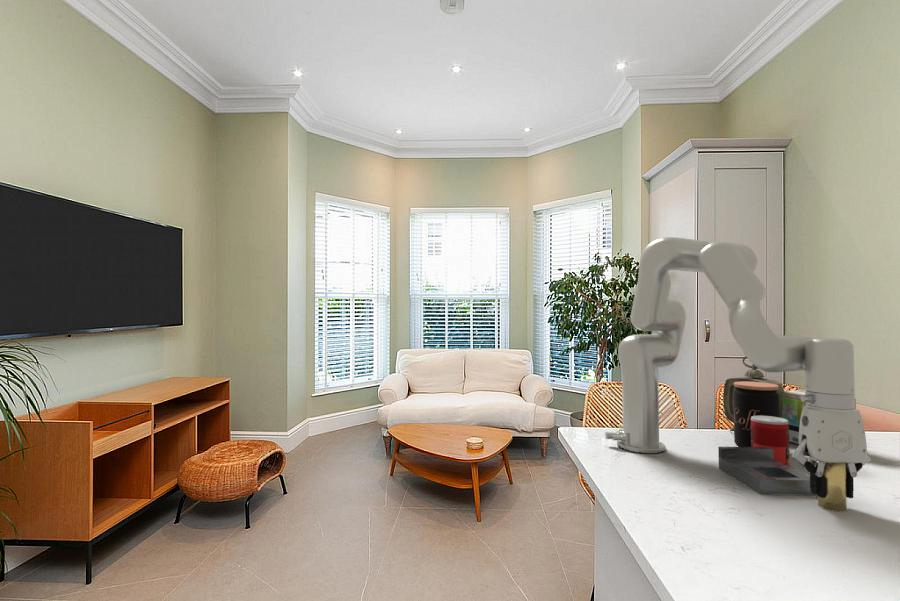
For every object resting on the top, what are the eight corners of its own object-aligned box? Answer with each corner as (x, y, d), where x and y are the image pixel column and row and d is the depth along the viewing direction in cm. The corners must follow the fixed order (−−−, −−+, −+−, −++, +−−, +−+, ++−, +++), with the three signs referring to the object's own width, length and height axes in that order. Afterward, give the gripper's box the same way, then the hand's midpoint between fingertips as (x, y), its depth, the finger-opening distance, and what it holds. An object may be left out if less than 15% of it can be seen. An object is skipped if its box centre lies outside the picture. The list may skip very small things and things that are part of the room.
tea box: (777, 439, 140) (777, 390, 141) (802, 437, 143) (801, 388, 144) (831, 454, 126) (831, 398, 126) (858, 451, 129) (857, 397, 129)
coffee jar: (725, 446, 134) (725, 382, 134) (749, 441, 138) (748, 380, 139) (764, 456, 124) (763, 388, 125) (788, 451, 129) (787, 385, 129)
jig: (760, 494, 98) (759, 468, 98) (718, 469, 114) (718, 446, 114) (819, 495, 98) (818, 468, 98) (769, 469, 114) (768, 447, 114)
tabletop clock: (723, 432, 149) (722, 353, 150) (740, 429, 153) (739, 352, 154) (772, 443, 136) (771, 357, 137) (789, 440, 141) (788, 356, 141)
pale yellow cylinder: (829, 511, 89) (828, 463, 90) (812, 502, 94) (811, 456, 94) (852, 511, 89) (851, 463, 90) (834, 502, 94) (833, 456, 94)
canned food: (795, 468, 115) (794, 422, 115) (759, 465, 116) (758, 421, 117) (780, 458, 122) (779, 416, 123) (746, 456, 124) (745, 414, 124)
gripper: (799, 404, 89) (801, 502, 88) (891, 405, 88) (893, 503, 88) (773, 397, 96) (774, 487, 96) (857, 398, 96) (859, 489, 95)
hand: (831, 494), depth 92 cm, fingers closed on pale yellow cylinder, 4 cm apart
